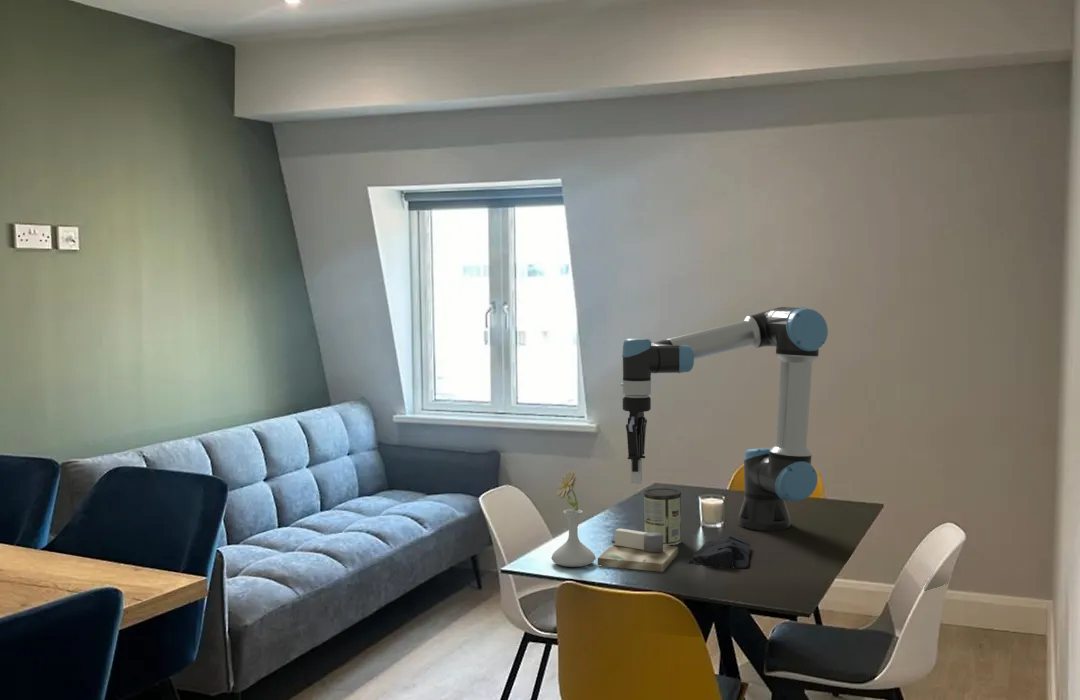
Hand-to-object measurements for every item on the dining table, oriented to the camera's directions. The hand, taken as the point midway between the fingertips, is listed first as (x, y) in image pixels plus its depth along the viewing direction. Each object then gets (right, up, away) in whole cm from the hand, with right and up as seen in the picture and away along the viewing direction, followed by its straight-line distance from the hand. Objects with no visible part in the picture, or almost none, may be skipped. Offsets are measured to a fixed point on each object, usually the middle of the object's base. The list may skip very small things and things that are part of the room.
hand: (636, 482), depth 269 cm
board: (0, -19, -9) cm, 21 cm away
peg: (0, -16, -6) cm, 17 cm away
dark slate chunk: (+22, -19, -7) cm, 30 cm away
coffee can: (+8, -18, +9) cm, 22 cm away
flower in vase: (-17, -20, -13) cm, 29 cm away
